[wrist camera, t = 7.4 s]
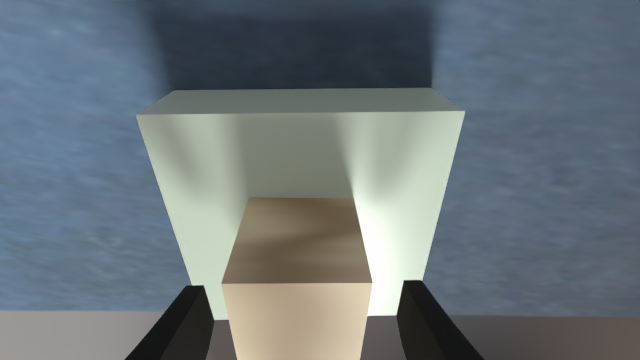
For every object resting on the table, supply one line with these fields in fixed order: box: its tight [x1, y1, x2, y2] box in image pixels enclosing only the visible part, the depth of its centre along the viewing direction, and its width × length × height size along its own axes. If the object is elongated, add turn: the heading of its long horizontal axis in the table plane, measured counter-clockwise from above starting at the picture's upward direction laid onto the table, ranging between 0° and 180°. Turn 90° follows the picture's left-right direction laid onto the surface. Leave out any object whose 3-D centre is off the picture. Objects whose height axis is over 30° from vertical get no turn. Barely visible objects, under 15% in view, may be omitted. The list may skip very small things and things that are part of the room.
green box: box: [136, 88, 465, 320], centre depth 16 cm, size 12×12×4 cm
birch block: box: [221, 198, 373, 360], centre depth 12 cm, size 4×4×4 cm
